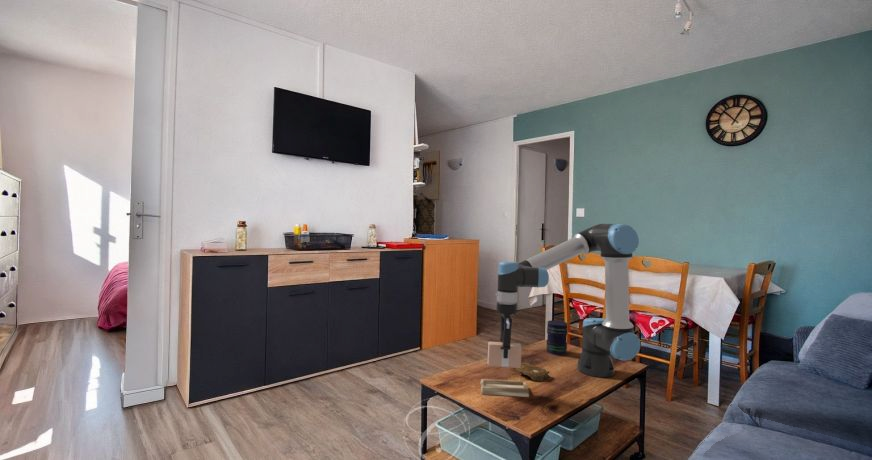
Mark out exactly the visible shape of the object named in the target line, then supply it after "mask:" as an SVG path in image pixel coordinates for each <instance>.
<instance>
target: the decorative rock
mask: <svg viewBox="0 0 872 460" xmlns="http://www.w3.org/2000/svg"><path fill="white" fill-rule="evenodd" d="M516 372H518V373H520V374H523V375H524V376H527V377H528V378H530V379H531V380H532V381H540V382H544V381H545V380H546V378H548V376H549V374H550V371H548V370H546V369H545V368H543V367H540V366H535V365H532V364H531V363H529V362H526V361H524V362H521V368H516Z"/></svg>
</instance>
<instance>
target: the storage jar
mask: <svg viewBox="0 0 872 460" xmlns="http://www.w3.org/2000/svg"><path fill="white" fill-rule="evenodd" d="M546 334H547V340H546V352H547V354H549V355H553V356H566V355H567V350H568V341H567V337H568V336H567V335H568V323H567V322H566V321H561V320H554V319H553V320H552V319H551V320H548V321H547V326H546Z"/></svg>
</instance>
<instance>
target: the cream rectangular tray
mask: <svg viewBox="0 0 872 460" xmlns="http://www.w3.org/2000/svg"><path fill="white" fill-rule="evenodd" d="M480 388H481V395H486V396H487V395H488V396H504V397H505V396H507V397H519V398H520V397H522V398H523V397H524V398H529V397H530V393H529V392H530V391H529V388H528V385H527V383H526V381H525V380H514V379H513V380H512V379H510V380H508V379H491V378H490V379H489V378H481V379H480Z"/></svg>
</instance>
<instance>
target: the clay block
mask: <svg viewBox="0 0 872 460" xmlns="http://www.w3.org/2000/svg"><path fill="white" fill-rule="evenodd" d="M487 347H488V348H487V366H489V367H500V368H501V367H502V368H504V367H503V366H501V356H502V349H501V348H500V347H503V342H501V341H488V345H487ZM522 347H523V346H522V345H521V343H518V342H517V343H516V342H515V343H514V342H510V349H509V367H508V368H515V369H517V368H521V363H522Z"/></svg>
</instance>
